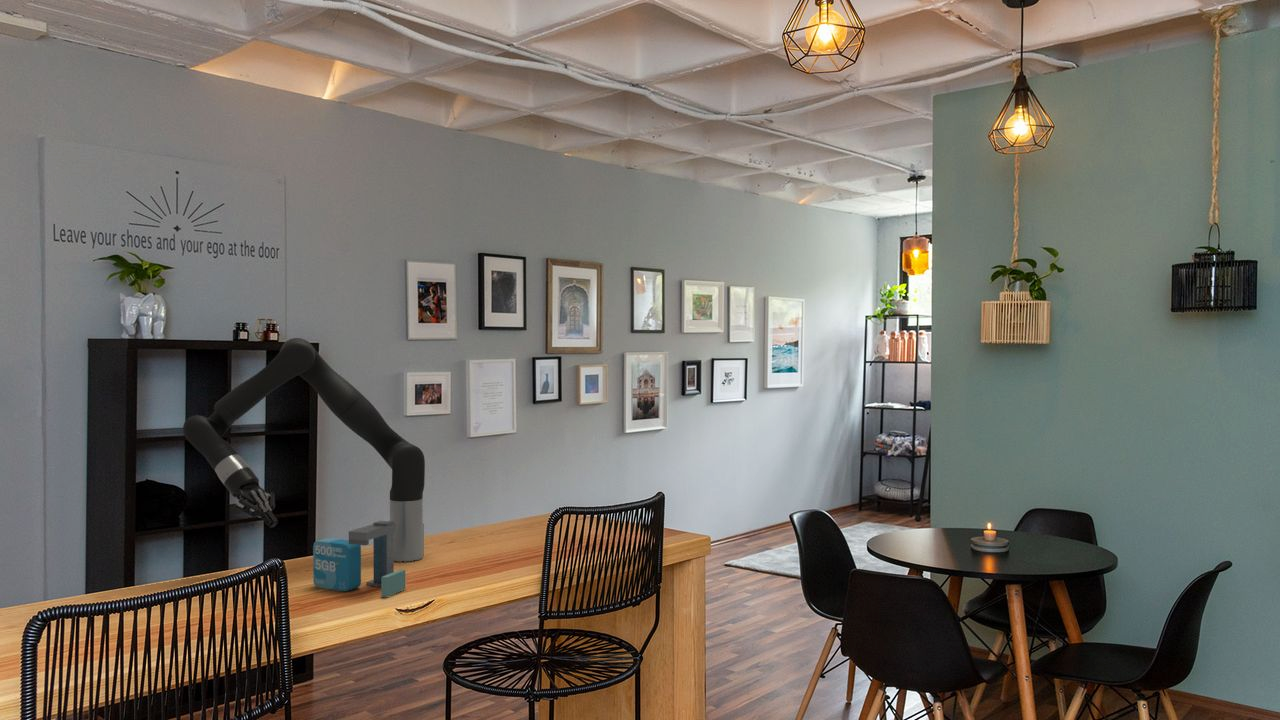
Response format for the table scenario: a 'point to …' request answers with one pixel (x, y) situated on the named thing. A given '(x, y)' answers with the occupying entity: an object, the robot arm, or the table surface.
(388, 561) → the lug bracket
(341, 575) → the data package
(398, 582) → the end catch
